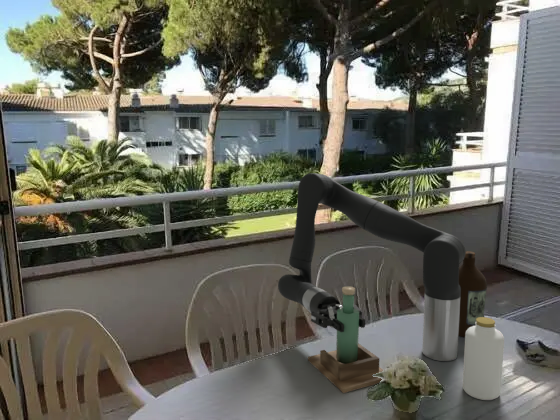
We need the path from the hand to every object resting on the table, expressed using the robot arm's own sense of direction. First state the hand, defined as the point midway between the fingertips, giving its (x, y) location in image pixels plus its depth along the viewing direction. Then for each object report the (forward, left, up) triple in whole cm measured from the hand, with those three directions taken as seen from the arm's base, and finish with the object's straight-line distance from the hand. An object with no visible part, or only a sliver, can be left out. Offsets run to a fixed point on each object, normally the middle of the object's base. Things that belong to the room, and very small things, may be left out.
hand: (353, 326), depth 119 cm
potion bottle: (-9, +29, -13) cm, 33 cm away
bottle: (-1, -2, -10) cm, 10 cm away
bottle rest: (-1, -2, -13) cm, 13 cm away
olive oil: (-42, +17, -13) cm, 47 cm away
